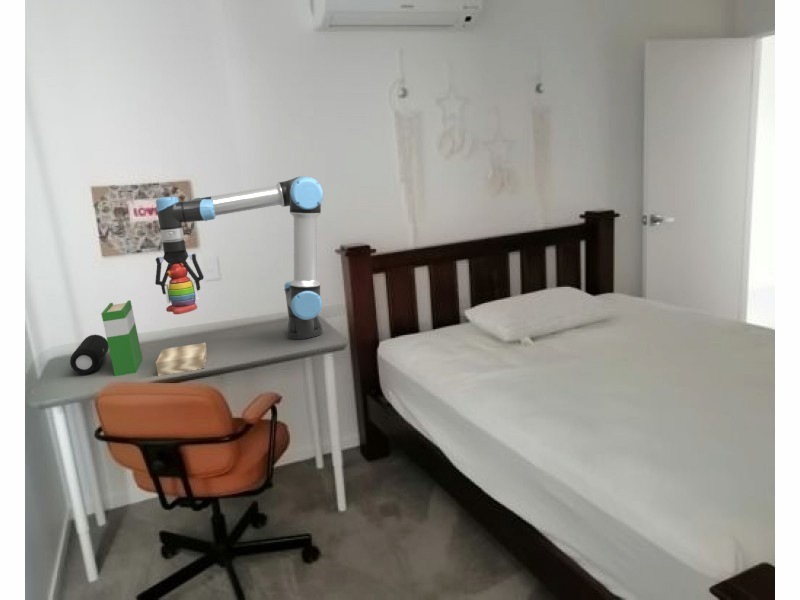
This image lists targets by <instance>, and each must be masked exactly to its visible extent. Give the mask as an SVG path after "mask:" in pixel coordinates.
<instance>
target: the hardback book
mask: <svg viewBox="0 0 800 600" xmlns="http://www.w3.org/2000/svg"><path fill="white" fill-rule="evenodd" d="M104 308H105V309H103V311H101V314H100V315H101V319H102V323H103V328H104V333H105V337H106V338H105V339H106V340H107V342H108V347H109V348H108V351H109V355H110V360H111V364H112V368H113V374H114V377H119V376H125V375H130V374H136V373H138V370H139V368H140V365H141V363H142V361H143V355H142V350H141V346H140V345H141V344H140V340H139V334H138V331H137V330H138V329H137V326H136V320H135V316H134V311H133V306H132V301H131V300H127V301H126V302H123V303H118V304H117V303H116V304H115V303H113V302H110V303H109V304H108V305H107V306H106V307H104Z"/></svg>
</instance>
